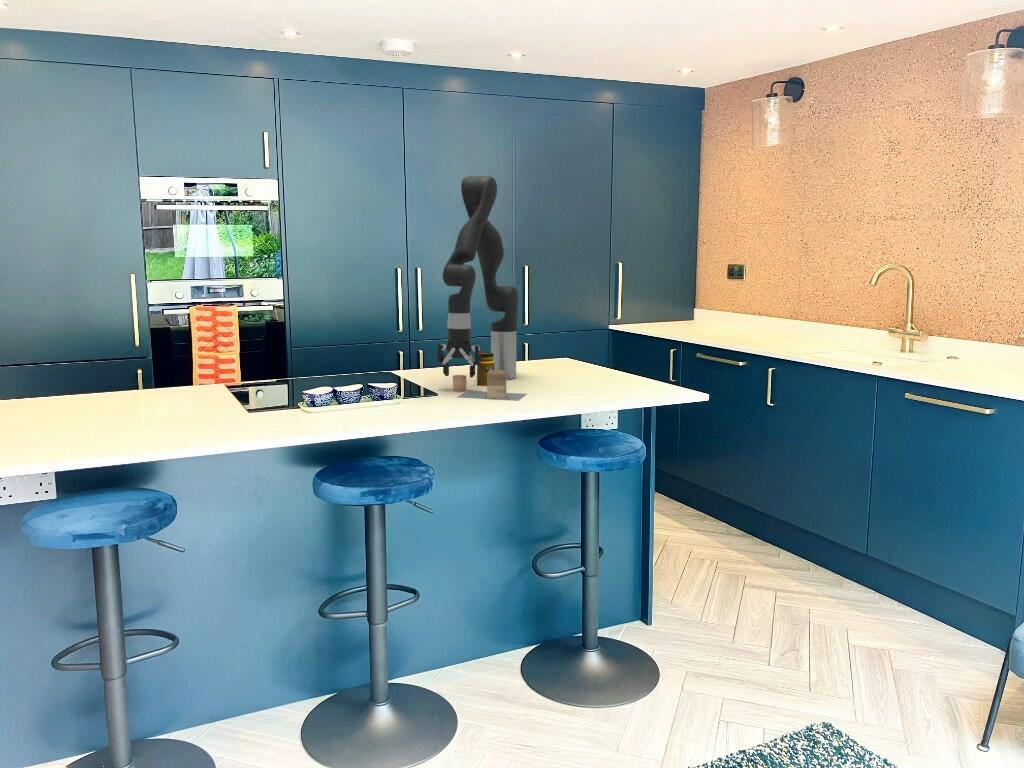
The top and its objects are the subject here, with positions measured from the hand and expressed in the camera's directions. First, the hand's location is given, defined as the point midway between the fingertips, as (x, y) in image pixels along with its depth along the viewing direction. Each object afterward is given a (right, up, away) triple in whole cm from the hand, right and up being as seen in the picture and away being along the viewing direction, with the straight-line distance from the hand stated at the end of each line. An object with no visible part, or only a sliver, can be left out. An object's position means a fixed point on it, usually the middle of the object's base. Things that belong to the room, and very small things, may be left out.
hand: (459, 376), depth 273 cm
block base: (+12, -7, -10) cm, 17 cm away
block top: (+13, -3, -11) cm, 17 cm away
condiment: (+7, -4, +13) cm, 15 cm away
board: (+11, -7, -8) cm, 15 cm away
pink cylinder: (0, -6, +1) cm, 6 cm away
